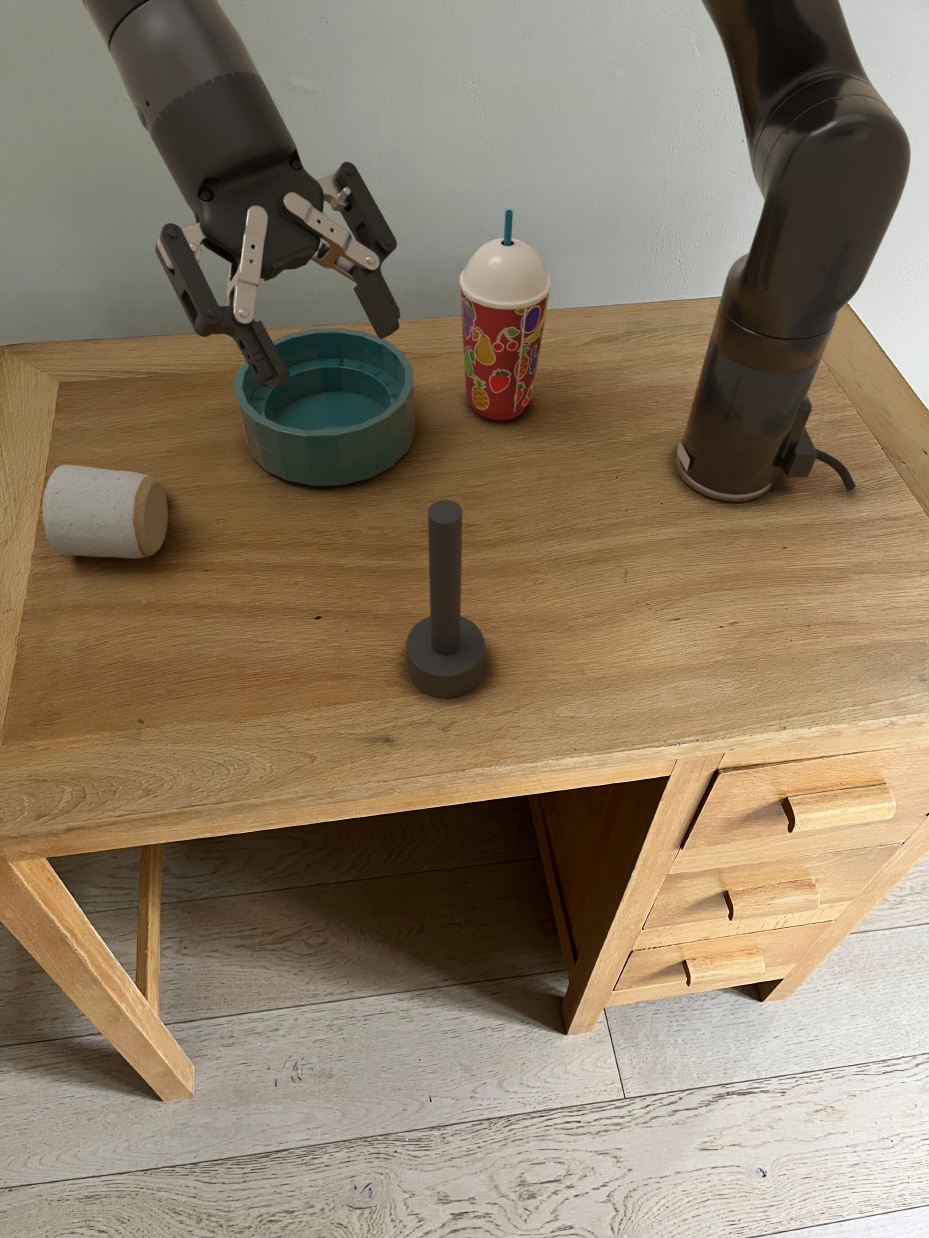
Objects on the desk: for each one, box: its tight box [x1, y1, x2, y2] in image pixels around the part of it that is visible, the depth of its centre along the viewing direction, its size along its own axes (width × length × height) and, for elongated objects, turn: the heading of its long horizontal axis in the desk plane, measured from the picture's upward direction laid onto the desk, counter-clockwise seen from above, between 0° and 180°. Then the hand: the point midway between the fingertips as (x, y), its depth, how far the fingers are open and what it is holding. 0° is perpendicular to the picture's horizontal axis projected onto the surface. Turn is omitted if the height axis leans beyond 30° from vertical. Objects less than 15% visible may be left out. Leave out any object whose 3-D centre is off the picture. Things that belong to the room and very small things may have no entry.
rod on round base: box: [405, 499, 486, 699], centre depth 61 cm, size 6×6×17 cm
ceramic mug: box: [41, 464, 169, 559], centre depth 73 cm, size 11×8×8 cm
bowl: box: [233, 327, 416, 487], centre depth 83 cm, size 17×17×6 cm
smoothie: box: [458, 209, 552, 421], centre depth 81 cm, size 8×8×20 cm
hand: (338, 358), depth 55 cm, fingers open, 8 cm apart
